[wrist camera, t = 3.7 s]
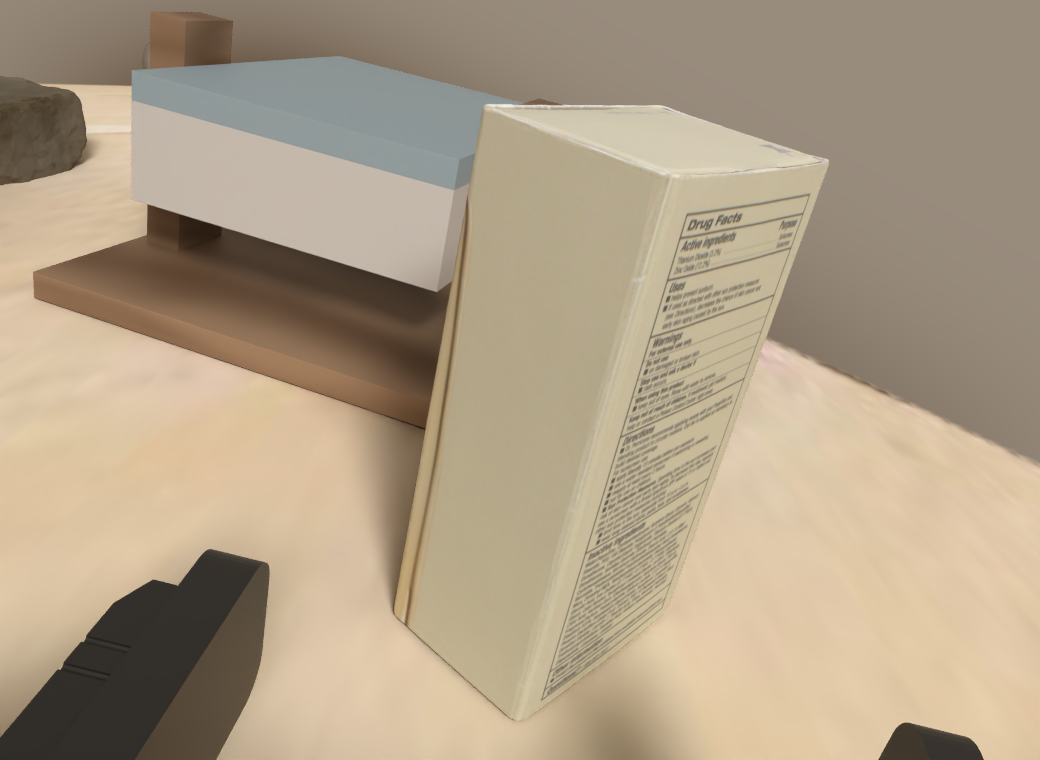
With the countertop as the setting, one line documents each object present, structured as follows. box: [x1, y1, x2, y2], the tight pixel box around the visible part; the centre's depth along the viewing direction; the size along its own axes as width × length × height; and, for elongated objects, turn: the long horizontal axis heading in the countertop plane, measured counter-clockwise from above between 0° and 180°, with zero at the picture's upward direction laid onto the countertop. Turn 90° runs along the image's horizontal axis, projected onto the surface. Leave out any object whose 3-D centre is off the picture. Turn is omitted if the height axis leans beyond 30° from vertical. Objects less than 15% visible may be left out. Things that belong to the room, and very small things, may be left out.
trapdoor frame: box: [33, 12, 563, 429], centre depth 36 cm, size 19×18×10 cm
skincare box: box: [394, 104, 829, 721], centre depth 19 cm, size 6×4×12 cm
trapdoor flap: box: [131, 56, 523, 292], centre depth 36 cm, size 15×12×4 cm
